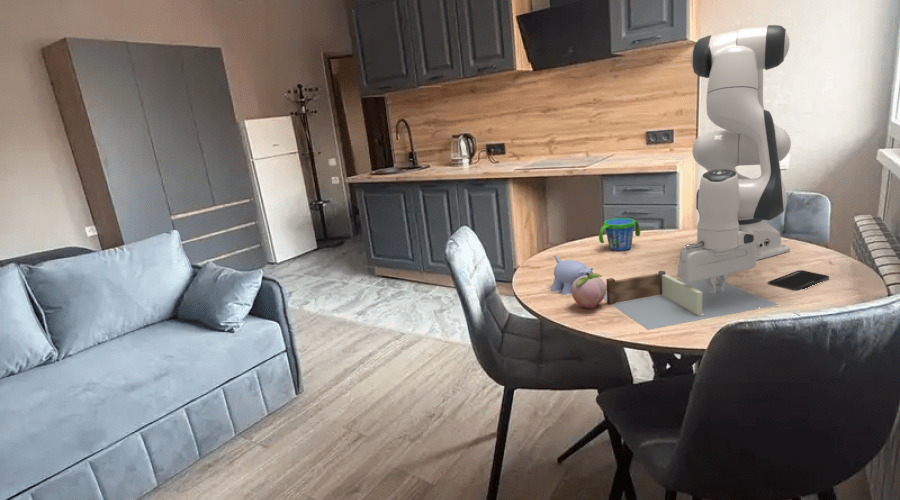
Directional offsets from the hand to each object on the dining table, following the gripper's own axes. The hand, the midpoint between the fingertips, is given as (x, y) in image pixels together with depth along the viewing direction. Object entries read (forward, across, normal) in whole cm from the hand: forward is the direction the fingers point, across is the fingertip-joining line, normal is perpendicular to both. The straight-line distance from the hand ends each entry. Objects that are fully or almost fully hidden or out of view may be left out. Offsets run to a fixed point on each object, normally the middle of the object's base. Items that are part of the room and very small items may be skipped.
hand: (716, 292), depth 123 cm
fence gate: (+2, -8, +3) cm, 9 cm away
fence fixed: (+3, -14, +12) cm, 19 cm away
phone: (+4, +27, +1) cm, 27 cm away
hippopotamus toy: (+3, -24, +27) cm, 36 cm away
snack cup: (+4, +10, +56) cm, 57 cm away
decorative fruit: (+3, -28, +13) cm, 31 cm away
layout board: (+3, -6, +6) cm, 9 cm away
